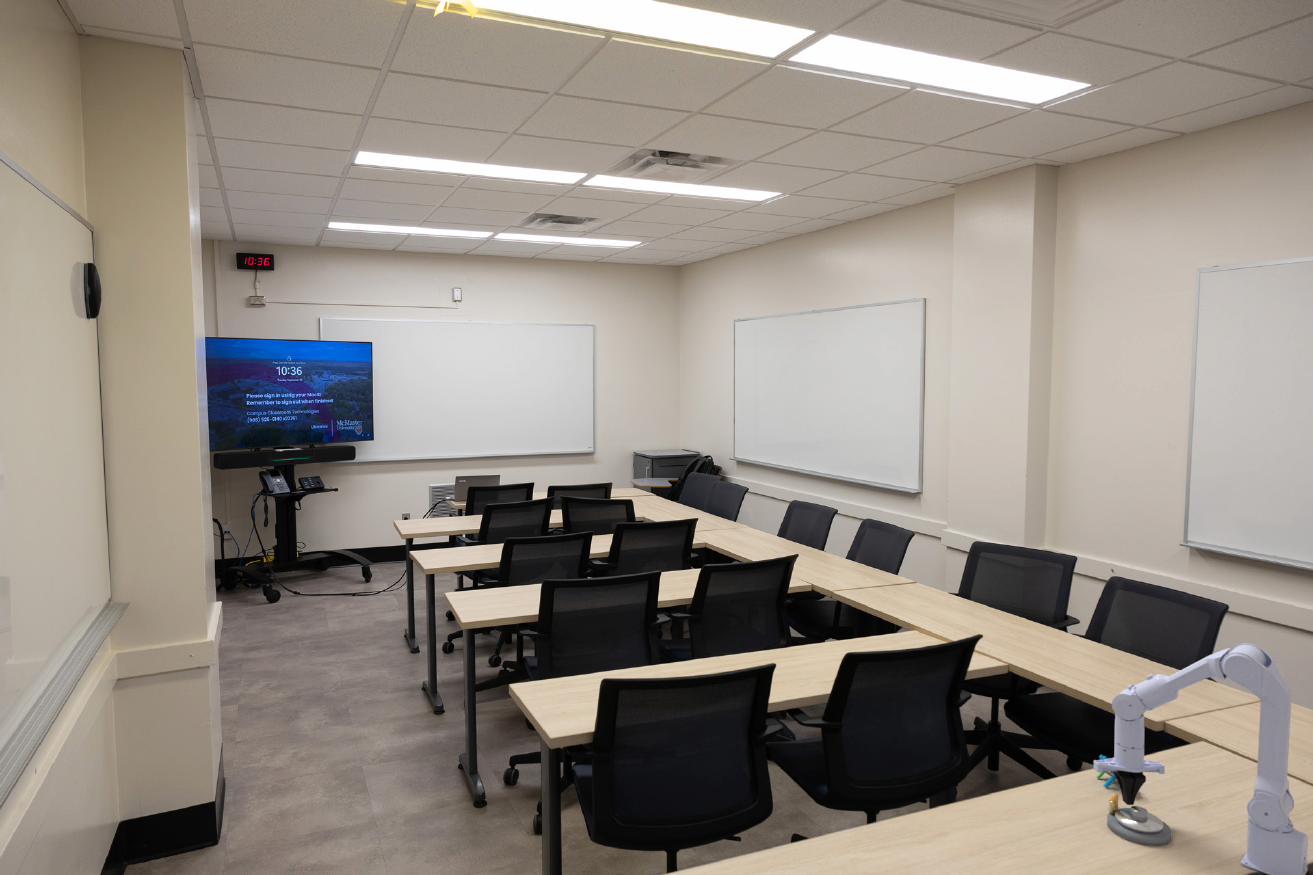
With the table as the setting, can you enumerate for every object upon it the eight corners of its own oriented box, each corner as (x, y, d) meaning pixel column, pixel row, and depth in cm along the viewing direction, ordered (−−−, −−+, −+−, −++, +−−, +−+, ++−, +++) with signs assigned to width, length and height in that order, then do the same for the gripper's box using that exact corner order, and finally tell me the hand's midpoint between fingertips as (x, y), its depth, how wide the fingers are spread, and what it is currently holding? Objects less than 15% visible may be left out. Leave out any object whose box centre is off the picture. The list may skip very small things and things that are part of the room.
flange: (1172, 826, 169) (1172, 810, 169) (1147, 837, 165) (1147, 820, 165) (1122, 803, 179) (1123, 788, 179) (1097, 813, 175) (1098, 797, 175)
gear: (1149, 791, 185) (1117, 760, 186) (1132, 809, 185) (1100, 778, 186) (1123, 775, 196) (1093, 746, 197) (1107, 792, 196) (1077, 763, 197)
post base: (1178, 831, 171) (1179, 811, 170) (1160, 852, 163) (1161, 831, 163) (1118, 810, 180) (1118, 791, 180) (1098, 829, 172) (1099, 809, 172)
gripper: (1152, 736, 179) (1151, 794, 180) (1087, 735, 180) (1086, 792, 181) (1170, 750, 172) (1169, 810, 173) (1102, 748, 173) (1101, 808, 174)
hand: (1128, 802), depth 176 cm, fingers closed
